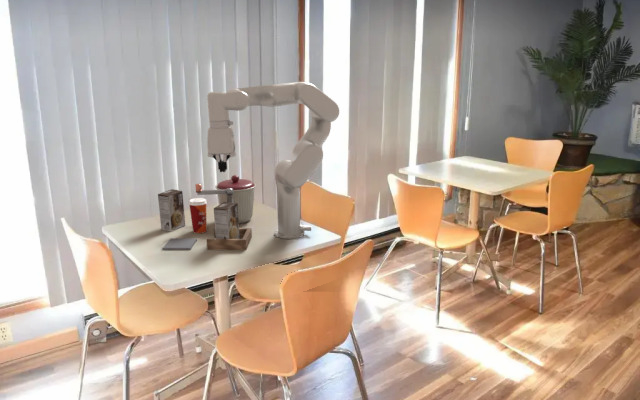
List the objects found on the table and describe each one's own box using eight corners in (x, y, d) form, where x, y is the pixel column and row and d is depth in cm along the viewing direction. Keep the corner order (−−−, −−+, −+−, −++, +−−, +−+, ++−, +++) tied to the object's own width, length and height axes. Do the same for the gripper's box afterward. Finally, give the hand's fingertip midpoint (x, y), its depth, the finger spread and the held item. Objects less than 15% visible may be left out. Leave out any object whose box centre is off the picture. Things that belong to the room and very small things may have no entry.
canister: (265, 219, 260) (263, 174, 254) (235, 229, 247) (232, 182, 241) (239, 212, 272) (237, 168, 266) (209, 221, 259) (206, 176, 253)
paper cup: (204, 234, 241) (202, 202, 237) (187, 233, 242) (185, 202, 239) (211, 228, 248) (209, 197, 244) (195, 227, 250) (193, 197, 246)
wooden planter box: (253, 234, 241) (251, 193, 236) (246, 249, 223) (244, 205, 218) (216, 234, 241) (213, 193, 236) (207, 249, 224) (204, 205, 219)
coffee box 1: (174, 223, 256) (171, 188, 251) (185, 225, 253) (183, 190, 249) (160, 229, 248) (157, 193, 244) (171, 231, 245) (168, 195, 241)
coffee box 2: (225, 238, 236) (223, 201, 231) (240, 240, 234) (238, 202, 229) (215, 246, 227) (213, 207, 223) (230, 247, 225) (228, 209, 221)
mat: (197, 240, 234) (196, 238, 234) (190, 249, 224) (190, 247, 223) (170, 240, 235) (170, 238, 234) (162, 249, 224) (162, 247, 224)
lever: (233, 192, 236) (233, 182, 234) (233, 194, 233) (232, 184, 232) (196, 194, 234) (195, 183, 233) (195, 195, 231) (195, 185, 230)
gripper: (240, 122, 221) (243, 168, 226) (202, 123, 221) (206, 169, 227) (237, 125, 214) (240, 173, 219) (197, 126, 214) (201, 174, 219)
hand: (223, 171), depth 223 cm, fingers closed
